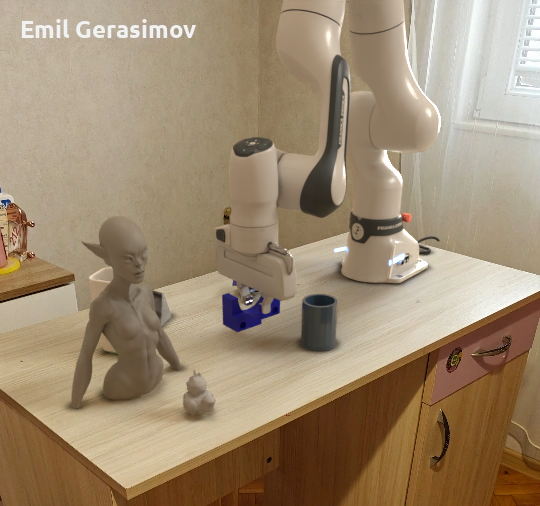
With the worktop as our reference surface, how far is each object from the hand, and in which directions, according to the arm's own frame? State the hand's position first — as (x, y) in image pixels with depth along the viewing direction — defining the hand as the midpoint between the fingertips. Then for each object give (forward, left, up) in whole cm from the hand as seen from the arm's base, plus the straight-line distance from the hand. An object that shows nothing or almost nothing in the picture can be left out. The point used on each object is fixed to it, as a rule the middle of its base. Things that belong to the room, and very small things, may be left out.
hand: (255, 308), depth 140 cm
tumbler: (-9, +9, -7) cm, 14 cm away
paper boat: (+9, -24, -7) cm, 27 cm away
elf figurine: (+29, +3, -7) cm, 30 cm away
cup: (+22, -14, -7) cm, 27 cm away
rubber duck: (+25, +16, -7) cm, 31 cm away
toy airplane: (-18, -19, -7) cm, 27 cm away
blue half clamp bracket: (+1, 0, -2) cm, 2 cm away
